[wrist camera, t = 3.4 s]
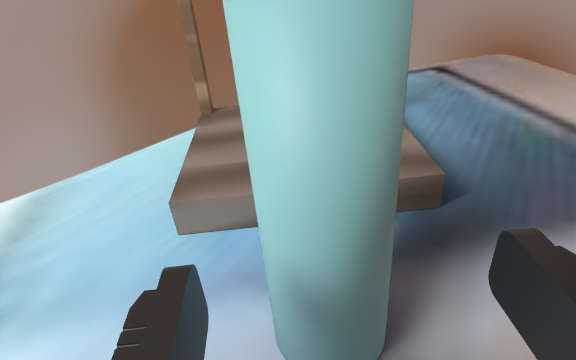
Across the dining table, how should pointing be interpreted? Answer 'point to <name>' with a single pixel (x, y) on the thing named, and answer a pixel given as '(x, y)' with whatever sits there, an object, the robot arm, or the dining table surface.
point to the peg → (324, 161)
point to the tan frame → (235, 169)
